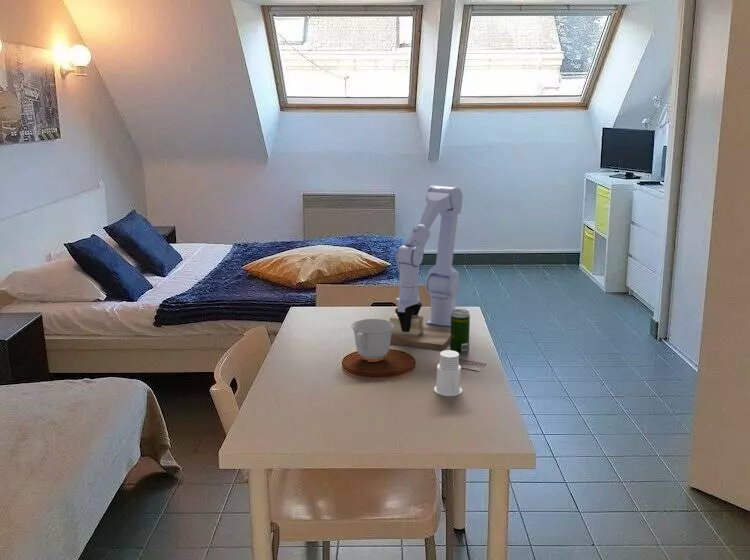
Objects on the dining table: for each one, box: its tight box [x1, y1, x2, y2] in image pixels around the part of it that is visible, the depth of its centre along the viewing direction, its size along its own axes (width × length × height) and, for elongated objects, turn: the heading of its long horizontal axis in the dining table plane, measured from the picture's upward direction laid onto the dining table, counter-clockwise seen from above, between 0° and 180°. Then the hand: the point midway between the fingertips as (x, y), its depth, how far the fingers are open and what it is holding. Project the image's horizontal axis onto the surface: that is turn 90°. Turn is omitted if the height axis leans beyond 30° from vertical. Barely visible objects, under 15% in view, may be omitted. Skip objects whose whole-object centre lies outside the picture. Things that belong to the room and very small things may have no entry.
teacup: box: [350, 318, 395, 359], centre depth 200 cm, size 12×15×10 cm
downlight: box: [433, 349, 463, 397], centre depth 179 cm, size 8×7×10 cm
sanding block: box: [389, 312, 424, 337], centre depth 220 cm, size 5×9×5 cm, turn 69°
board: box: [390, 326, 451, 351], centre depth 220 cm, size 14×20×2 cm
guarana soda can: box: [449, 308, 471, 356], centre depth 207 cm, size 5×5×12 cm
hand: (408, 328), depth 220 cm, fingers closed on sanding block, 5 cm apart
